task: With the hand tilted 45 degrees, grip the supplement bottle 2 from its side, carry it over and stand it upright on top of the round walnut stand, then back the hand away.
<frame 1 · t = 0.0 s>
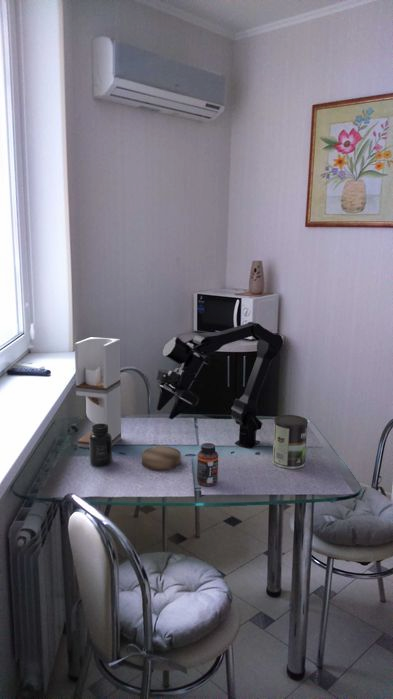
hand: (163, 414, 169), 15 cm above the table, tool tilted 35°, fingers open, 9 cm apart
supplement bottle 2: (207, 482, 157), on the table
supplement bottle: (101, 463, 169), on the table
coffee can: (288, 462, 172), on the table
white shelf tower: (99, 442, 186), on the table
walnut stand: (161, 462, 170), on the table
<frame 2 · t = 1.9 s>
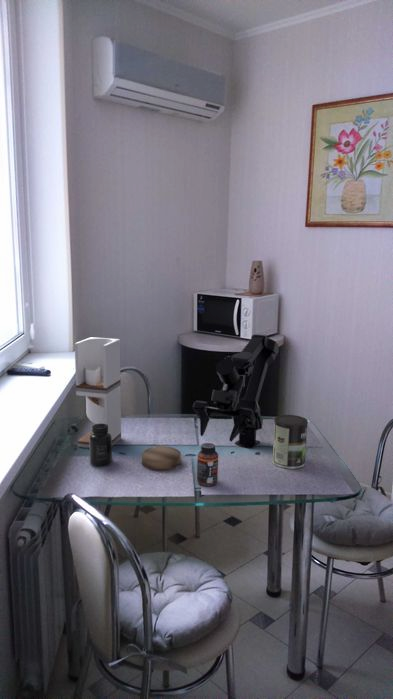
hand: (215, 438, 160), 12 cm above the table, tool tilted 45°, fingers open, 9 cm apart
nothing on the table moved.
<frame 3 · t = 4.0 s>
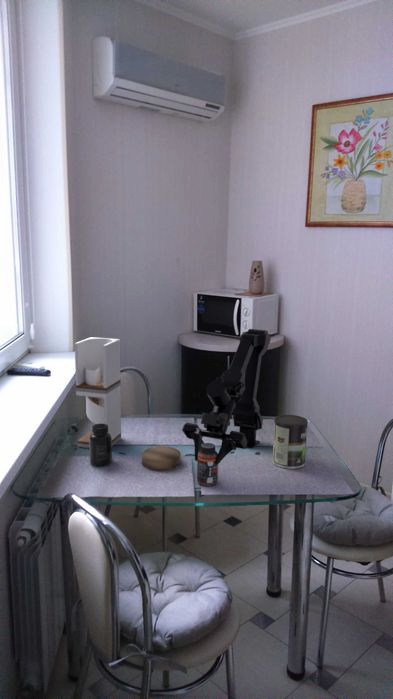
hand: (205, 462, 155), 7 cm above the table, tool tilted 45°, fingers closed on supplement bottle 2, 6 cm apart
supplement bottle 2: (207, 482, 157), on the table, touching gripper
everything else where it was.
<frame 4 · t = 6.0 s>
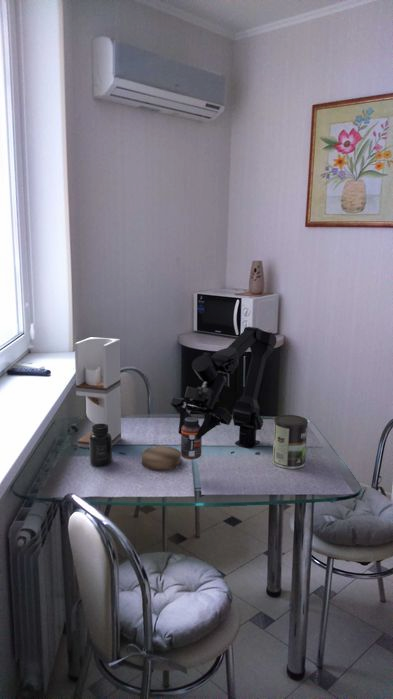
hand: (188, 435, 156), 13 cm above the table, tool tilted 45°, fingers closed on supplement bottle 2, 6 cm apart
supplement bottle 2: (191, 456, 159), point 6 cm above the table, touching gripper
everything else where it was.
when the fingers open (11 cm above the table, at t = 8.0 s): supplement bottle 2 drops 1 cm, resting on walnut stand.
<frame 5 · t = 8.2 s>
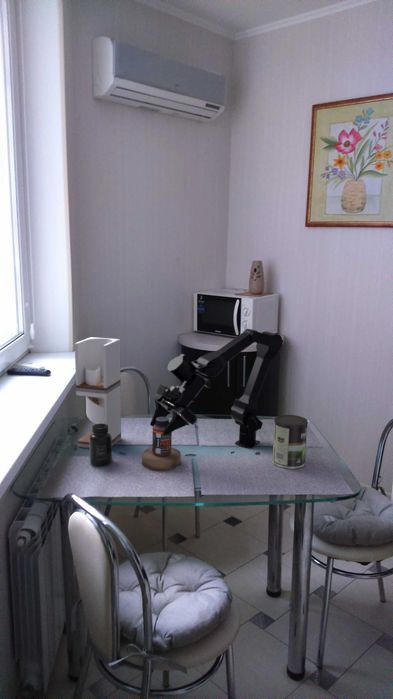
hand: (157, 429, 167), 11 cm above the table, tool tilted 45°, fingers open, 8 cm apart
supplement bottle 2: (161, 454, 170), point 3 cm above the table, touching walnut stand
everything else where it was.
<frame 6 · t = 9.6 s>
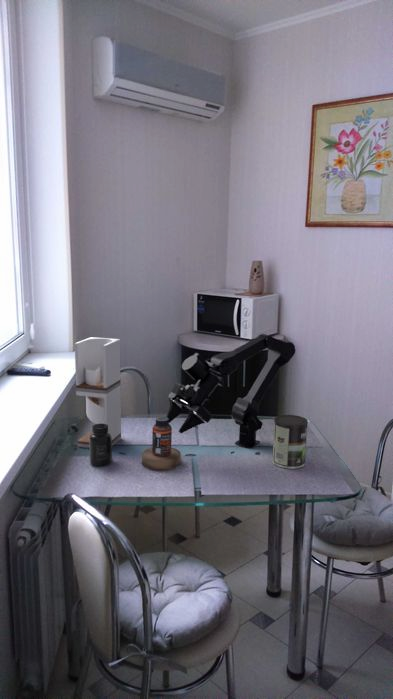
hand: (172, 427, 170), 11 cm above the table, tool tilted 45°, fingers open, 9 cm apart
nothing on the table moved.
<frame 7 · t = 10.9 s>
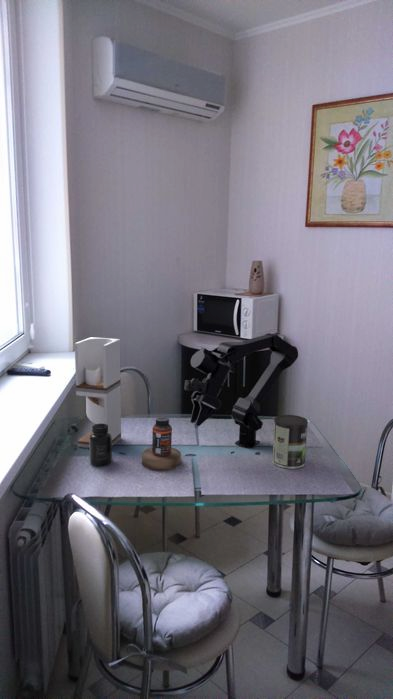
hand: (194, 424, 172), 11 cm above the table, tool tilted 30°, fingers open, 9 cm apart
nothing on the table moved.
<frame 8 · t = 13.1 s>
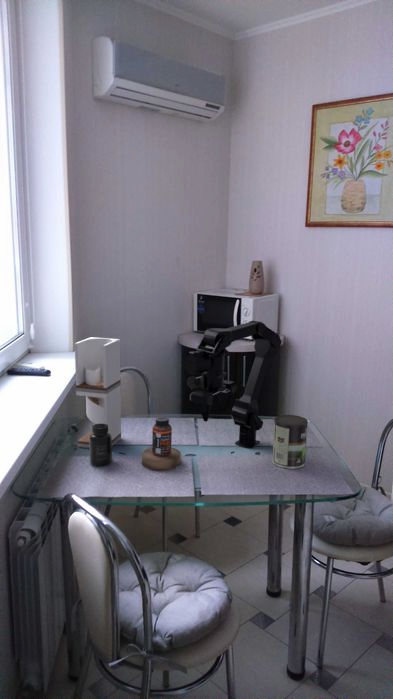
hand: (213, 417, 173), 13 cm above the table, tool pointing down, fingers open, 9 cm apart
nothing on the table moved.
at the end: supplement bottle 2 inside the target area on the walnut stand (0.2 cm from its centre), point 2.8 cm above the walnut stand's base; supplement bottle 2 tilted 0°; the gripper is holding nothing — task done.
